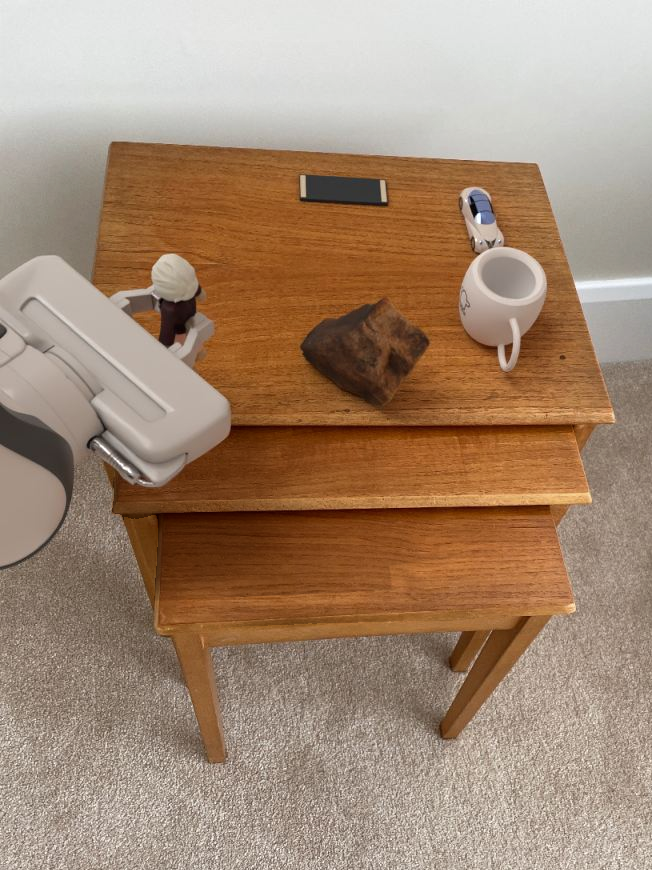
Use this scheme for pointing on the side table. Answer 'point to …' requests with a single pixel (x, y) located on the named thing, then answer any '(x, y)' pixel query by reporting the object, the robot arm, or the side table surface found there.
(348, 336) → the decorative rock
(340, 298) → the side table surface
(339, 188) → the black flat block
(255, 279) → the side table surface
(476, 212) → the toy car
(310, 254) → the side table surface
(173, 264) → the grandmother figurine
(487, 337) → the mug
